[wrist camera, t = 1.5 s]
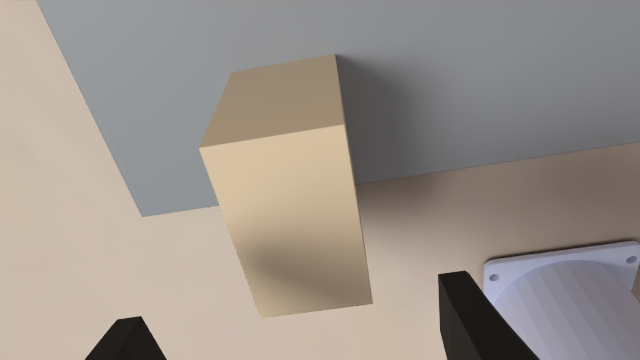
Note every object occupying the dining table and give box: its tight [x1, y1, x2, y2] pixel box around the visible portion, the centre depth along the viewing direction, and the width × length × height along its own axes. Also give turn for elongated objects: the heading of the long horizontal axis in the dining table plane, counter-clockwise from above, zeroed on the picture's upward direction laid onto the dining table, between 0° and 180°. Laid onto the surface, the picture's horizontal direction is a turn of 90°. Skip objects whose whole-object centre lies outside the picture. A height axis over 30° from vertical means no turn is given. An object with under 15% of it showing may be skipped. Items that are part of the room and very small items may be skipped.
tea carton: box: [199, 54, 373, 318], centre depth 17 cm, size 7×4×6 cm, turn 10°
